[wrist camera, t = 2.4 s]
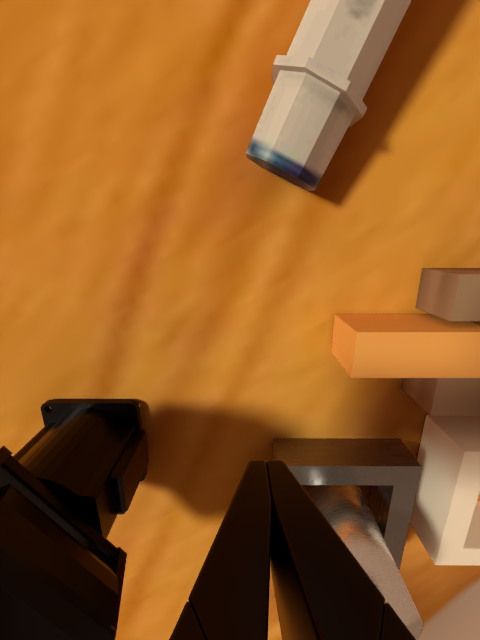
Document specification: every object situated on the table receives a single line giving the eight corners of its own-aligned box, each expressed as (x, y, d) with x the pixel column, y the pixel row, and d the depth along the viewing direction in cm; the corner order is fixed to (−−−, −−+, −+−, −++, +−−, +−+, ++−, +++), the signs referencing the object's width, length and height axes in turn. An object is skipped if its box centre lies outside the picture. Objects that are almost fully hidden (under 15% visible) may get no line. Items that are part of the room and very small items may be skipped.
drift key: (331, 352, 18) (351, 377, 15) (334, 314, 17) (357, 332, 14) (441, 352, 18) (487, 378, 15) (449, 313, 17) (499, 332, 14)
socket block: (270, 533, 23) (273, 568, 20) (273, 438, 20) (277, 465, 18) (382, 533, 22) (399, 569, 20) (399, 439, 20) (421, 466, 18)
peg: (302, 509, 22) (335, 655, 14) (306, 467, 21) (343, 601, 13) (354, 509, 22) (415, 656, 14) (360, 467, 21) (429, 602, 13)
